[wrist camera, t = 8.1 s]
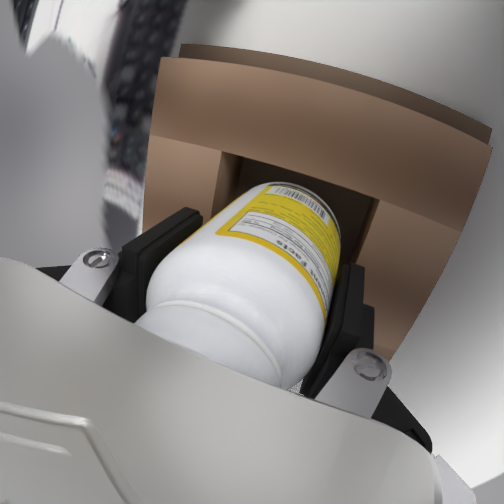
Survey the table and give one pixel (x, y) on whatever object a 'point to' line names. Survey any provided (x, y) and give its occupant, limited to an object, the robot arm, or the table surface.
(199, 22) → the table surface
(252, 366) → the supplement bottle
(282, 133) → the bottle holder
